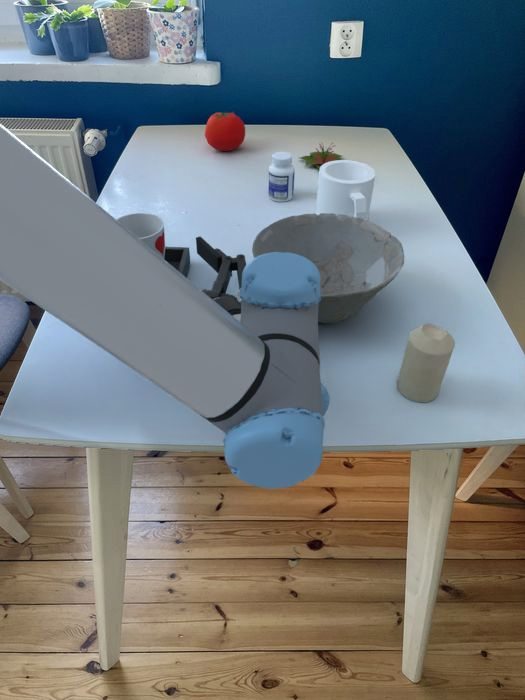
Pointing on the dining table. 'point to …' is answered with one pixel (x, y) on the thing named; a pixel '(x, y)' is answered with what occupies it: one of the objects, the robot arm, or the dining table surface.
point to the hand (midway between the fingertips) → (157, 257)
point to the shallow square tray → (178, 258)
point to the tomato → (225, 131)
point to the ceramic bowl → (337, 257)
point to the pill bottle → (281, 177)
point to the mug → (345, 188)
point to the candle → (425, 363)
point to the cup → (146, 230)
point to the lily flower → (321, 157)
